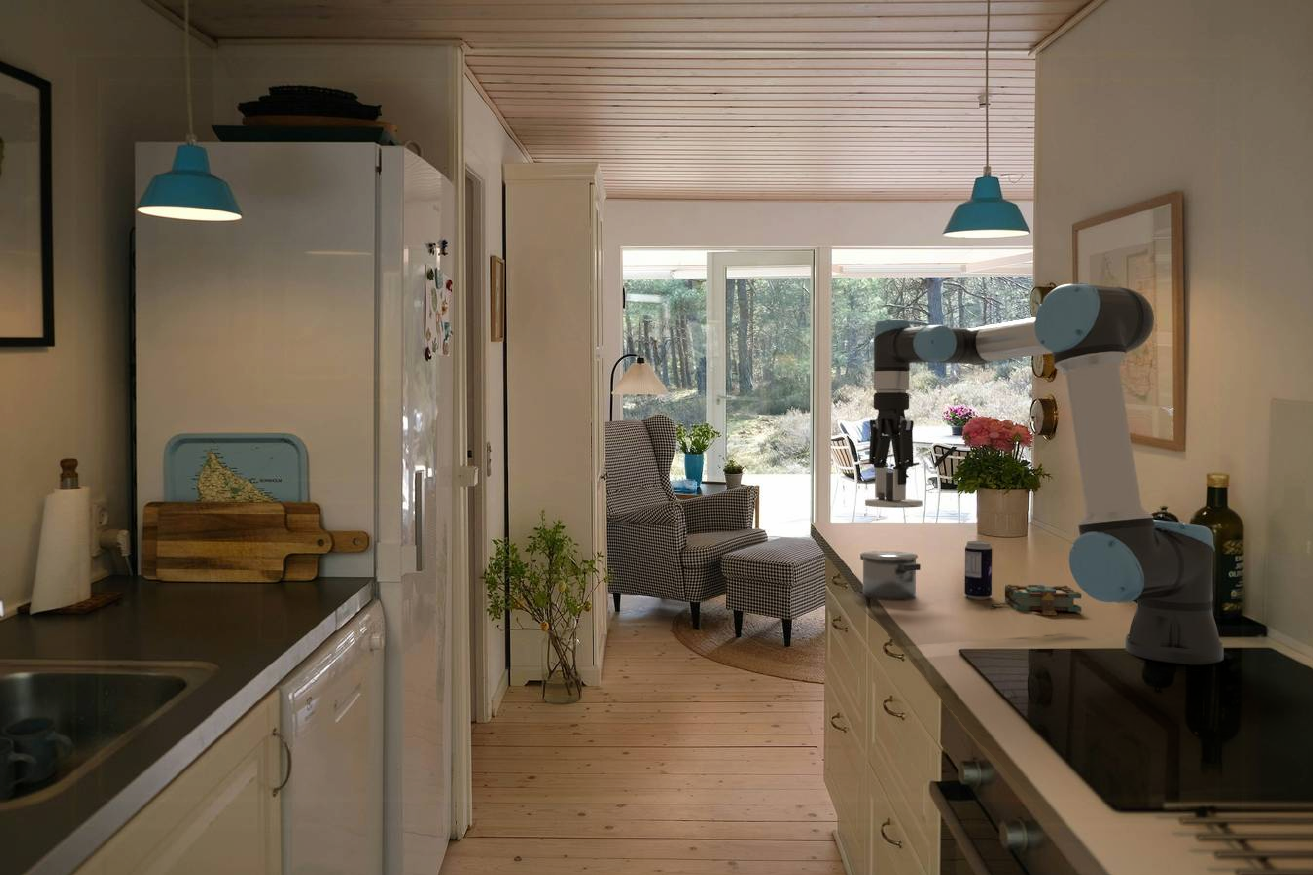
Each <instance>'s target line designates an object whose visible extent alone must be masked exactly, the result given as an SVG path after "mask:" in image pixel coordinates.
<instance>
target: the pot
mask: <svg viewBox="0 0 1313 875" xmlns="http://www.w3.org/2000/svg"><path fill="white" fill-rule="evenodd" d="M859 556H860V557H859V558H860V561H861V560H862V595H863V596H865V597H867V598H870V599H875V600H880V601H889V602H890V601H891V602H892V601H893V602H895V601H896V602H899V601H910V600H913V599H916V597H917V571H921V570H922V569H921V566H922V565H921V563H918V562H917V559H919V555H918V554H916V553H912V552H906V551H905V552H904V551H890V550H875V551H872V550H871V551H865V552H861V553H860V555H859Z"/></svg>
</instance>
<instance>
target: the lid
mask: <svg viewBox="0 0 1313 875" xmlns="http://www.w3.org/2000/svg"><path fill="white" fill-rule="evenodd" d="M864 505H865V506H866V507H873V508H875V507H876V508H897V509H898V508H899V509H901V508H902V509H903V508H904V509H906V508H908V509H909V508H919V507H923V500H920V499H914V498H906V500H893V471H888V472H886V498H885V493H879V498H868V499H865V500H864Z"/></svg>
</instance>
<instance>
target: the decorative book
mask: <svg viewBox="0 0 1313 875" xmlns="http://www.w3.org/2000/svg"><path fill="white" fill-rule="evenodd" d="M1074 599H1082V593H1080V592H1079V591H1074V589H1071V587H1069V586H1068V585H1066V584H1064V585H1061V586H1060V585H1059V586H1058V585H1054V586H1045V585H1044V584H1037V585H1035V584H1034V585H1033V584H1028V585H1027V586H1024V585H1023V586H1021V585H1015V584H1014V585H1013V584H1011V583H1008V584H1006V585H1005V587H1004V602H1002V603H997V604H996V603H995V604H993V603H992V604H991V605H987V607H988V608H990V609H991V610H996V609H1000V608H1002V607H1003V606H1007V605H1010V606H1012V608H1013V609H1014V610H1015V611H1027V612H1028V611H1029V612H1030V611H1040V612H1041V614H1042V615H1043V616H1045V615H1046V616H1058V613H1057V611H1067V612H1078V613H1079V612H1082V607H1081V606H1080V605H1078V604H1074ZM999 605H1001V606H999ZM998 606H999V607H998Z"/></svg>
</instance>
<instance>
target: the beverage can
mask: <svg viewBox="0 0 1313 875" xmlns="http://www.w3.org/2000/svg"><path fill="white" fill-rule="evenodd" d="M963 585H964V586H963V587H964V589H963V592H964V595H965V596H966V597H967V598H968V599H973V600H978V601H979V600H980V601H981V600H989V598H990V597H991V596H992V595H993V547H992V546H991V542H990V541H985V540H983V541H982V540H981V541H979V540H970V541H966V545H965V547H964V584H963Z"/></svg>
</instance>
